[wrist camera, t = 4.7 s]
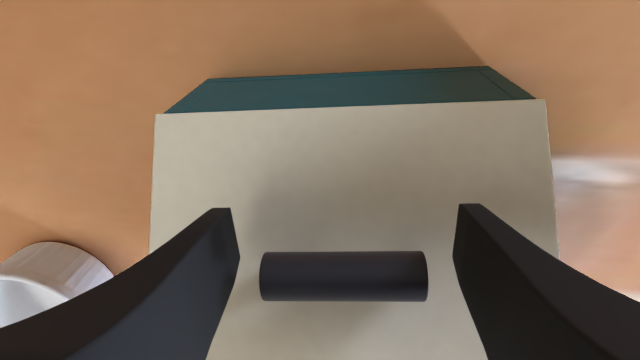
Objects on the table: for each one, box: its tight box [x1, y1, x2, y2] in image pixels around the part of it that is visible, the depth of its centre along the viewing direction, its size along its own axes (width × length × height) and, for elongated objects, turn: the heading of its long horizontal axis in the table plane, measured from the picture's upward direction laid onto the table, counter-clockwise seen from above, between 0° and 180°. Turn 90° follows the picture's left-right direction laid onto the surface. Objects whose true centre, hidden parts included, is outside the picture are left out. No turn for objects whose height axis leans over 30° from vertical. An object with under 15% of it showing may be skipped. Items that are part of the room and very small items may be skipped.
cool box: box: [164, 66, 536, 114], centre depth 20 cm, size 11×15×6 cm
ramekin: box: [0, 242, 114, 328], centre depth 27 cm, size 9×9×4 cm
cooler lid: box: [149, 99, 560, 360], centre depth 12 cm, size 12×15×4 cm
